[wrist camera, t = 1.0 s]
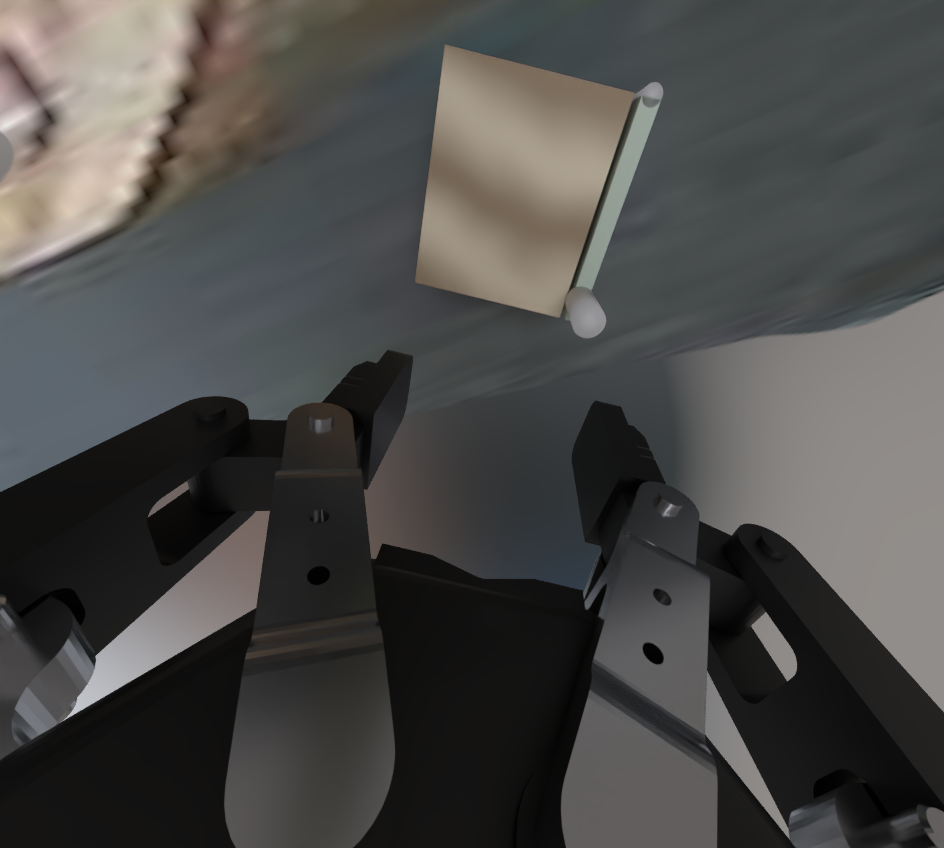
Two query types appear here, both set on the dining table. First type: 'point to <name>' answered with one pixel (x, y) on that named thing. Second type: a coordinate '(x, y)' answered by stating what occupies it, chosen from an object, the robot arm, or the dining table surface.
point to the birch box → (514, 179)
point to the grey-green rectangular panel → (609, 213)
